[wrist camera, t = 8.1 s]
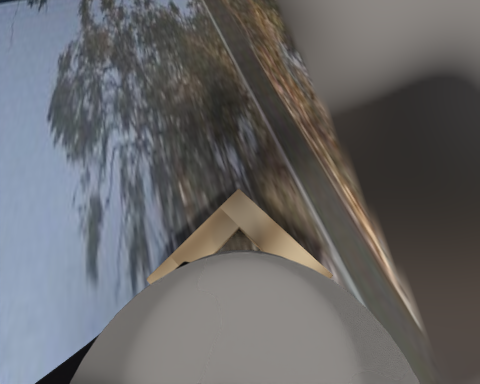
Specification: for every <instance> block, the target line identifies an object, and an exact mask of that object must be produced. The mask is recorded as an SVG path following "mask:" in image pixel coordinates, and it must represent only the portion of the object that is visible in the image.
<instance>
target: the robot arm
mask: <svg viewBox="0 0 480 384" xmlns="http://www.w3.org/2000/svg"><path fill="white" fill-rule="evenodd" d="M188 263H190V262H187V261H184V262H183V263H182V264H180V265H179V266H178V267H177V268H176V269H178V268H180V267H182V266H184V265H186V264H188ZM100 334H101V333H100ZM100 334H99V335H100ZM99 335H98V336H99ZM98 336H97V337H98ZM97 337H95V338H94V339H93V340H92V341H91V342H89V343H88V344H87V345H86V346H84V347H83V348H82V349H80V350H79V351H78V352H76V353H75V354H74V355H73V356H71V357H70V358H69V359H67V360H66V361H65V362H63V363H62V364H61V365H59V366H58V367H57V368H55V369H54V370H53V371H51V372H50V373H49V374H47V375H46V376H45V377H43V378H42V379H40V380H39V381H38V382H36V383H35V384H70V382H71V380H72V378H73V377H74V375H75V373H76V371H77V369H78V367H79V365H80V364H81V362H82V360H83V358H84V357H85V355H86V354H87V352H88V351H89V349H90V348H91V346H92V345H93V343H94V342H95V340H96V339H97Z"/></svg>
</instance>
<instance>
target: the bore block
mask: <svg viewBox="0 0 480 384" xmlns="http://www.w3.org/2000/svg"><path fill="white" fill-rule="evenodd" d="M239 229H240V230H241V231H242V232H243V233H244V234H245V235H246V236H247V237H248V238H249V239H250V240H251V241H252V242H253V243H254V244H255V245H256V246H257V247H258V248H259V249H260V250H261V251H262V252H267V253H271V254H275V255H278V256H282V257H284V258H287V259H289V260H292V261H295V262H297V263H300V264H302V265H305V266H307V267H309V268H312V269H314V270H316V271H317V272H319V273H321V274H323V275H324V276H326V277H328V278H331V277H332V276H333V275H332V274H331V273H330V272H329V271H328V270H327V269H325V268H324V267H323V266H322V265H321V264H320V263H319V262H318V261H317V260H316V259H315V258H314V257H312V256H311V255H310V254H309V253H308V252H307V251H306V250H305V249H304V248H303V247H302V246H300V245H299V244H298V243H297V242H296V241H295V240H294V239H293V238H292V237H291V236H290V235H289V234H287V233H286V232H285V231H284V230H283V229H282V228H281V227H280V226H279V225H278V224H277V223H276V222H274V221H273V220H272V219H271V218H270V217H269V216H268V215H267V214H266V213H265V212H264V211H263V210H261V209H260V208H259V207H258V206H257V205H256V204H255V203H254V202H253V201H252V200H251V199H249V198H248V197H247V196H246V195H245V194H244V193H243V192H242V191H241V190H240V189H238V190H237V191H236V192H235V193H234V194H233V195H232V196H231V197H229V198H228V199H227V200H226V201H225V202H224V203H223V204H222V205H221V206H220V207H219V208H218V209H217V210H216V211H215V212H214V213H213V214H212V215H211V216H210V217H209V218H208V219H207V220H206V221H205V222H204V223H203V224H202V225H201V226H200V227H199V228H198V229H197V230H196V231H195V232H194V233H193V234H192V235H191V236H190V237H189V238H188V239H187V240H186V241H185V242H184V243H183V244H182V245H181V246H180V247H178V248H177V249H176V250H175V251H174V252H173V253H172V254H171V255H170V256H169V257H168V258H167V259H166V260H165V261H164V262H163V263H162V264H161V265H160V266H159V267H158V268H157V269H156V270H155V271H154V272H153V273H152V274H151V275H150V276H149V277H148V278H147V281H148V282H149V283H150V284H152V283H153V282H155V281H156V280H158V279H160V278H161V277H163V276H165V275H166V274H168V273H170V272H171V271H173V270H175V269H176V268H177V267H178V266H179V265H180V264H182V263H183V262H184V261H187V262H192V261H195V260H197V259H199V258H202V257H204V256H208V255H211V254H215V253H217V252H218V251H219V250H220V249H221V247H222V246H223V245H224V244H225V243H226V242H227V241H228V240H229V239H230V238H231V237H232V236H233V235H234V234H235V233H236V232H237V231H238V230H239Z"/></svg>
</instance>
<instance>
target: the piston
mask: <svg viewBox="0 0 480 384" xmlns="http://www.w3.org/2000/svg"><path fill="white" fill-rule="evenodd" d="M70 384H420V383H419V381H418V380H417V378H416V376H415V374H414V372H413V371H412V369H411V367H410V365H409V364H408V362H407V360H406V358H405V356H404V355H403V353H402V352H401V351H400V349H399V348H398V346H397V345H396V343H395V342H394V341H393V339H392V338H391V336H390V335H389V333H388V332H387V331H386V330H385V328H384V327H383V326H382V325H381V324H380V323H379V321H378V320H377V319H376V318H375V317H374V316H373V314H372V313H371V312H370V311H369V310H368V309H367V308H366V307H365V306H364V305H362V304H361V303H360V302H359V301H358V300H357V299H356V298H355V297H354V296H353V295H352V294H350V293H349V292H348V291H346V290H345V289H344V288H342V287H341V286H340V285H338V284H337V283H336V282H334V281H333V280H331V279H330V278H328V277H326V276H324V275H323V274H321V273H319V272H317V271H316V270H314V269H312V268H309V267H307V266H305V265H302V264H300V263H297V262H295V261H292V260H289V259H287V258H284V257H282V256H278V255H275V254H271V253H267V252H261V251H254V250H232V251H225V252H218V253H215V254H211V255H208V256H204V257H202V258H199V259H197V260H195V261H192V262H190V263H188V264H186V265H184V266H182V267H180V268H178V269H175V270H173V271H171V272H170V273H168V274H166V275H165V276H163V277H161V278H160V279H158V280H156V281H155V282H153V283H152V284H150V285H149V286H148V287H147V288H145V289H144V290H143V291H141V292H140V293H139V294H137V295H136V296H135V297H134V298H133V299H132V300H131V301H130V302H129V303H128V304H127V305H126V306H125V307H123V308H122V309H121V310H120V311H119V312H118V313H117V314H116V315H115V317H114V318H113V319H112V320H111V321H110V323H109V324H108V325H107V326H106V327H105V329H104V330H103V331H102V332H101V334H100V335H99V336H98V337H97V339H96V340H95V342H94V343H93V345H92V346H91V348H90V349H89V351H88V352H87V354H86V355H85V357H84V358H83V360H82V362H81V364H80V365H79V367H78V369H77V371H76V373H75V375H74V377H73V378H72V380H71V382H70Z"/></svg>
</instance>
